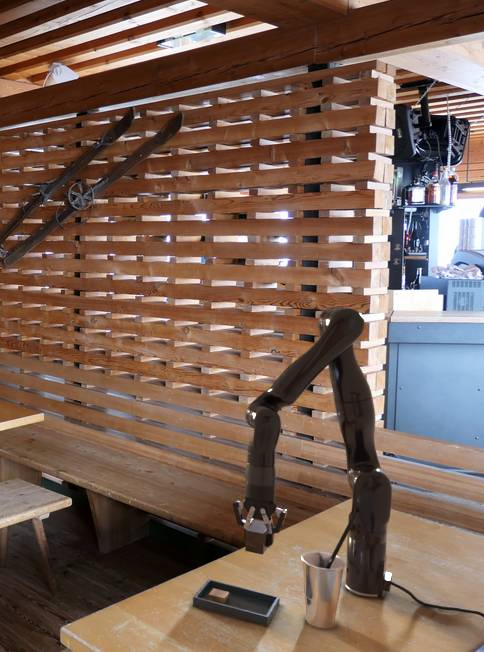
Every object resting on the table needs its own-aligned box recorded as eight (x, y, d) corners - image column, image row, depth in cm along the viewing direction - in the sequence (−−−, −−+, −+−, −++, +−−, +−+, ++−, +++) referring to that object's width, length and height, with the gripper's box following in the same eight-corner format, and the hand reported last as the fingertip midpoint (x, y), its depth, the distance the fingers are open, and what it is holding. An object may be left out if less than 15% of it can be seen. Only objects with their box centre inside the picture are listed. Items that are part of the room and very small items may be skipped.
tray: (279, 605, 185) (279, 596, 185) (267, 626, 175) (267, 617, 175) (208, 587, 195) (208, 578, 195) (192, 606, 185) (193, 597, 185)
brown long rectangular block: (271, 543, 197) (272, 522, 196) (262, 554, 189) (263, 533, 188) (254, 539, 199) (254, 519, 198) (245, 550, 191) (245, 530, 191)
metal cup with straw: (354, 637, 171) (359, 510, 168) (302, 631, 173) (307, 506, 171) (343, 614, 181) (348, 495, 179) (294, 609, 183) (299, 491, 181)
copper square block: (228, 598, 188) (229, 592, 188) (224, 604, 185) (224, 598, 185) (213, 594, 190) (213, 588, 190) (208, 600, 187) (208, 594, 187)
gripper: (292, 481, 192) (289, 545, 193) (237, 472, 199) (235, 533, 201) (286, 489, 186) (283, 555, 187) (229, 479, 193) (227, 543, 194)
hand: (258, 543), depth 194 cm, fingers closed on brown long rectangular block, 4 cm apart
